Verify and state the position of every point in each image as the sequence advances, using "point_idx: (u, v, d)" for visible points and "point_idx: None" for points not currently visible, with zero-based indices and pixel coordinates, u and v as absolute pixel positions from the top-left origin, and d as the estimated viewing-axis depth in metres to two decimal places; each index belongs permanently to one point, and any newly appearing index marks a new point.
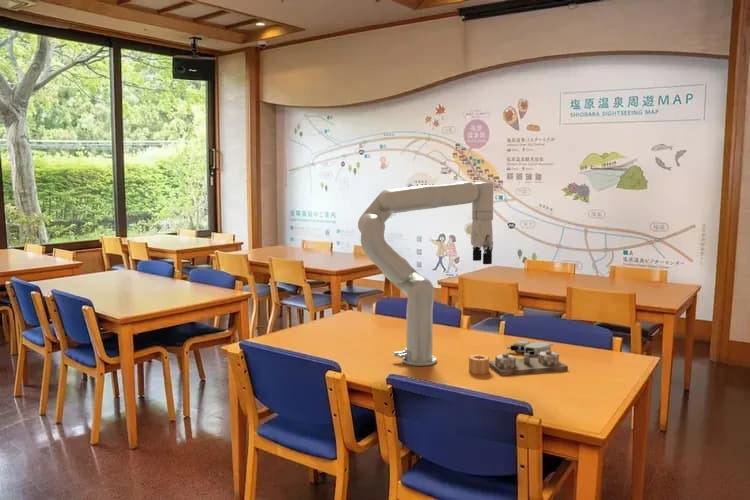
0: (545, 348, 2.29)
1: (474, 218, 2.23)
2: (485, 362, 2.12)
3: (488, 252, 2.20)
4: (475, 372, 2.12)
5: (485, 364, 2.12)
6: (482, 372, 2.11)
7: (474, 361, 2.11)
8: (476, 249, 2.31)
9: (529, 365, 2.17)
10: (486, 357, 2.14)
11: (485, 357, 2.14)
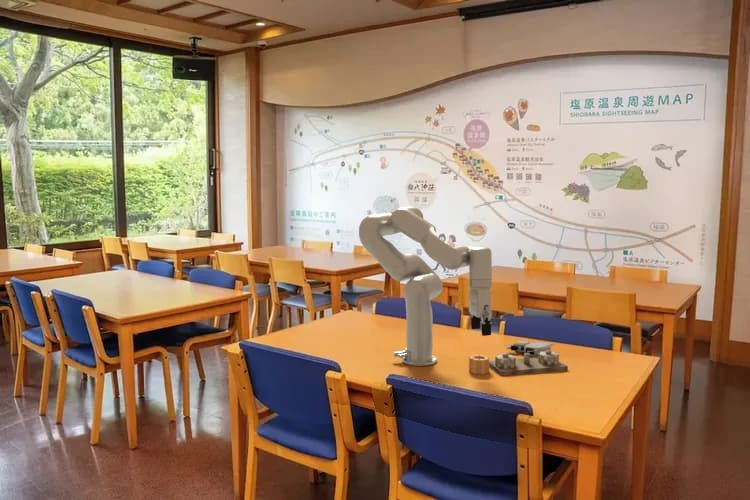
0: (545, 348, 2.29)
1: (471, 286, 2.09)
2: (485, 362, 2.12)
3: (487, 323, 2.06)
4: (475, 372, 2.12)
5: (485, 364, 2.12)
6: (482, 372, 2.11)
7: (474, 361, 2.11)
8: (475, 317, 2.17)
9: (529, 365, 2.17)
10: (486, 357, 2.14)
11: (485, 357, 2.14)
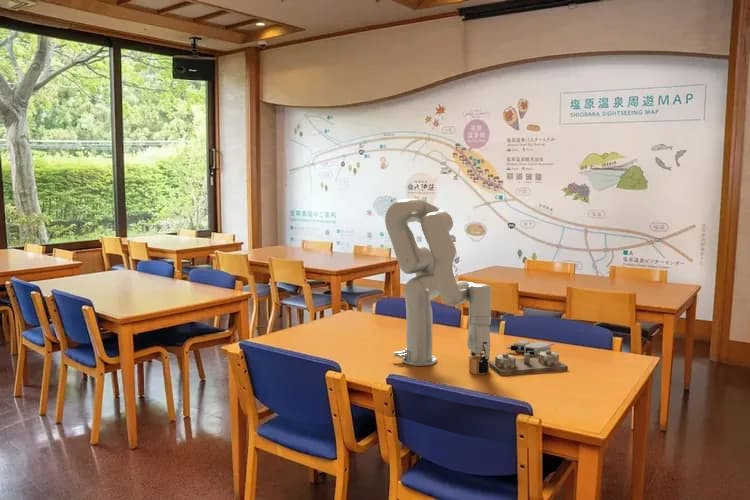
0: (545, 348, 2.29)
1: (471, 323, 2.11)
2: None
3: (484, 361, 2.09)
4: (475, 372, 2.12)
5: None
6: None
7: (474, 361, 2.11)
8: (474, 354, 2.18)
9: (529, 365, 2.17)
10: None
11: None
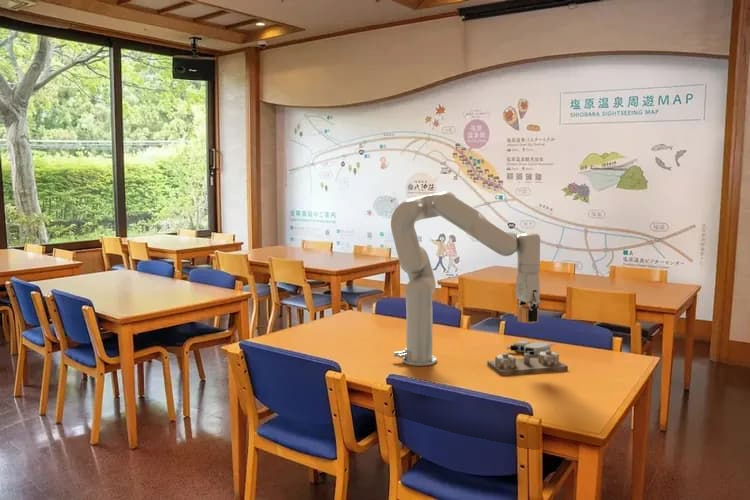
0: (545, 348, 2.29)
1: (520, 271, 2.12)
2: None
3: (534, 309, 2.11)
4: (524, 321, 2.13)
5: None
6: None
7: (523, 310, 2.13)
8: (522, 304, 2.19)
9: (529, 365, 2.17)
10: None
11: None
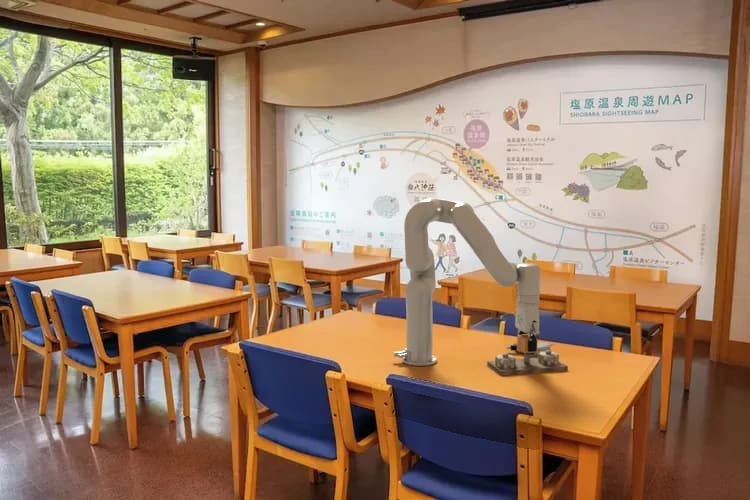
0: (545, 348, 2.29)
1: (520, 302, 2.14)
2: None
3: (533, 340, 2.12)
4: (524, 351, 2.15)
5: None
6: None
7: (523, 340, 2.14)
8: (521, 333, 2.21)
9: (529, 365, 2.17)
10: None
11: None
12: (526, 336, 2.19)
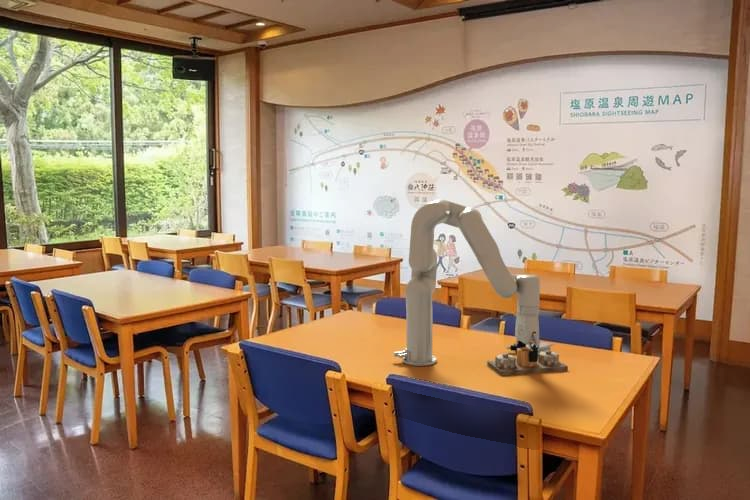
0: (545, 348, 2.29)
1: (519, 313, 2.14)
2: None
3: (534, 350, 2.12)
4: (523, 364, 2.15)
5: None
6: (530, 364, 2.15)
7: (523, 353, 2.15)
8: (520, 342, 2.22)
9: None
10: None
11: None
12: (526, 349, 2.20)
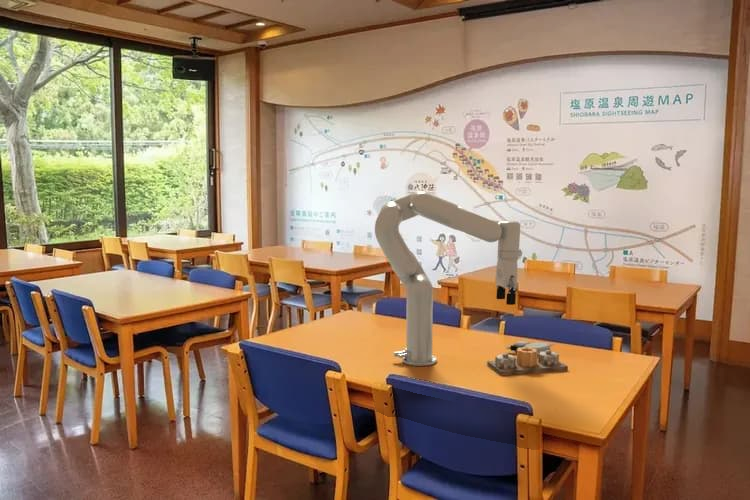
0: (544, 348, 2.29)
1: (499, 257, 2.21)
2: (533, 354, 2.15)
3: (512, 293, 2.18)
4: (523, 364, 2.15)
5: (533, 356, 2.15)
6: (530, 364, 2.15)
7: (523, 353, 2.15)
8: (500, 287, 2.28)
9: None
10: (534, 349, 2.18)
11: (533, 349, 2.18)
12: (526, 349, 2.20)
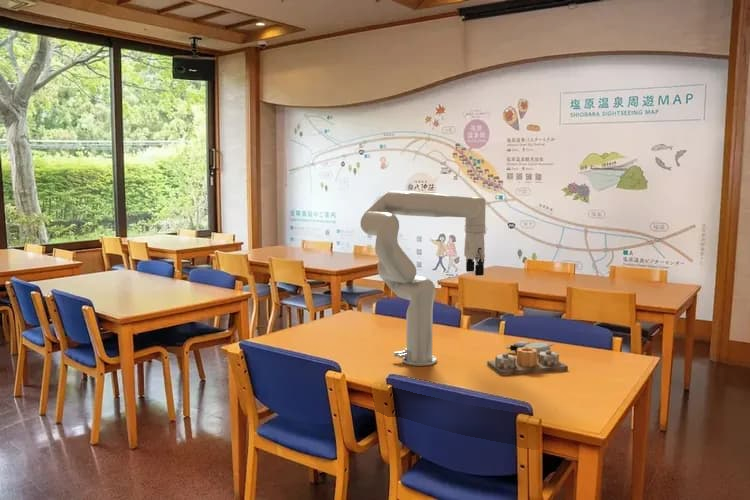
0: (544, 348, 2.29)
1: (467, 231, 2.34)
2: (533, 354, 2.15)
3: (480, 264, 2.31)
4: (523, 364, 2.15)
5: (533, 356, 2.15)
6: (530, 364, 2.15)
7: (523, 353, 2.15)
8: (469, 260, 2.42)
9: None
10: (534, 349, 2.18)
11: (533, 349, 2.18)
12: (526, 349, 2.20)
